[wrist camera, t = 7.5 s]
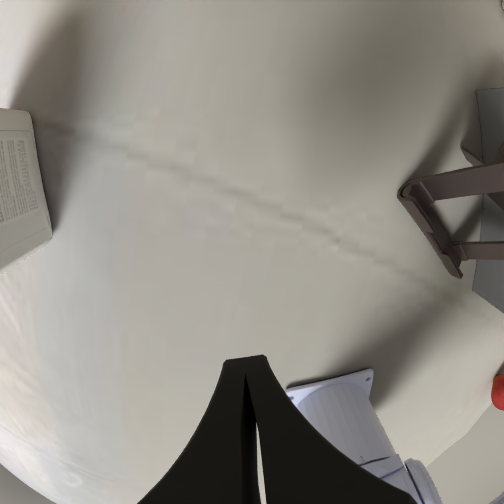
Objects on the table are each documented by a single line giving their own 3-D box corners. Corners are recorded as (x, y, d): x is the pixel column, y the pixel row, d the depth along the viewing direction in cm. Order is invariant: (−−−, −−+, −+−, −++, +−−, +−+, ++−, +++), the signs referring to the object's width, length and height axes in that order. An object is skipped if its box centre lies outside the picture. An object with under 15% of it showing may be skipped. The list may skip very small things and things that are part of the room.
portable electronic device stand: (390, 195, 17) (479, 228, 9) (446, 122, 16) (533, 124, 8) (444, 270, 20) (512, 318, 12) (490, 203, 18) (560, 230, 10)
